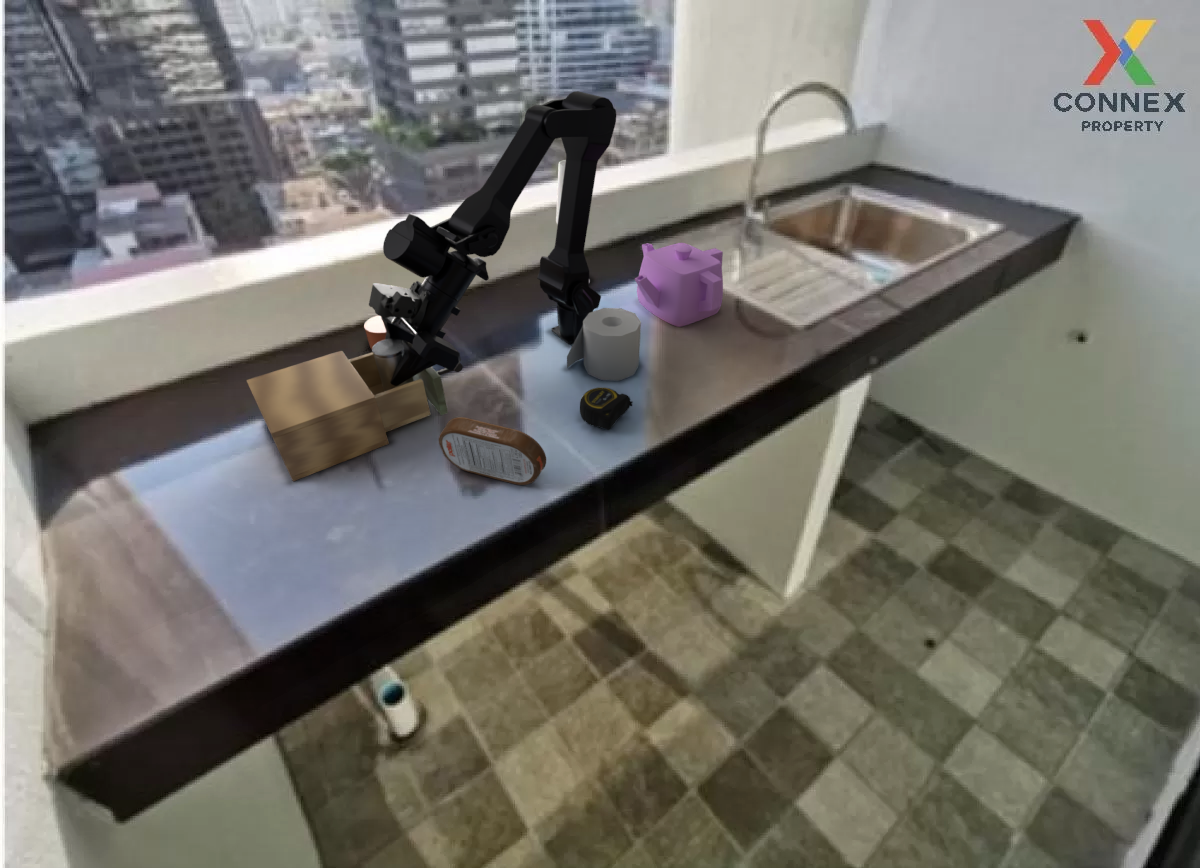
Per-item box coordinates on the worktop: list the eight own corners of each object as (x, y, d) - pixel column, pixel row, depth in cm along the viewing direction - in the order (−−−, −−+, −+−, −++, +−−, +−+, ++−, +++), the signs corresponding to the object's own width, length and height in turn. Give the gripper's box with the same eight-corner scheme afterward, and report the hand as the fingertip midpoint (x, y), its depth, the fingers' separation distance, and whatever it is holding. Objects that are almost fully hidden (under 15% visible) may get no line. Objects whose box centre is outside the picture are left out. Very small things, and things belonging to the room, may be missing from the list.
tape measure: (608, 437, 90) (609, 418, 87) (571, 421, 93) (570, 402, 90) (632, 413, 94) (633, 394, 92) (595, 399, 97) (595, 380, 95)
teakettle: (719, 332, 113) (728, 270, 105) (629, 324, 115) (632, 263, 107) (721, 290, 126) (729, 232, 118) (640, 284, 128) (643, 226, 120)
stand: (413, 344, 110) (409, 325, 107) (377, 356, 106) (371, 337, 104) (399, 329, 114) (395, 310, 111) (364, 340, 111) (358, 320, 108)
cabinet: (356, 395, 98) (341, 350, 92) (389, 443, 89) (375, 396, 83) (267, 426, 92) (246, 380, 86) (293, 481, 83) (270, 433, 77)
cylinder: (422, 389, 95) (411, 342, 89) (402, 405, 91) (389, 358, 86) (399, 381, 96) (387, 335, 91) (378, 397, 93) (364, 350, 88)
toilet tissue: (555, 368, 104) (553, 324, 98) (618, 345, 109) (619, 302, 104) (584, 394, 98) (583, 349, 92) (649, 368, 104) (651, 324, 98)
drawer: (441, 363, 103) (434, 328, 99) (477, 401, 95) (471, 365, 91) (339, 398, 96) (327, 362, 91) (368, 443, 87) (356, 406, 83)
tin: (549, 479, 83) (545, 432, 78) (539, 494, 81) (535, 447, 75) (452, 455, 87) (442, 408, 81) (441, 469, 84) (430, 422, 79)
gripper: (372, 240, 88) (318, 329, 90) (423, 288, 77) (360, 389, 79) (432, 276, 97) (382, 356, 99) (487, 324, 85) (428, 414, 87)
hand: (387, 376), depth 91 cm, fingers closed on cylinder, 4 cm apart
